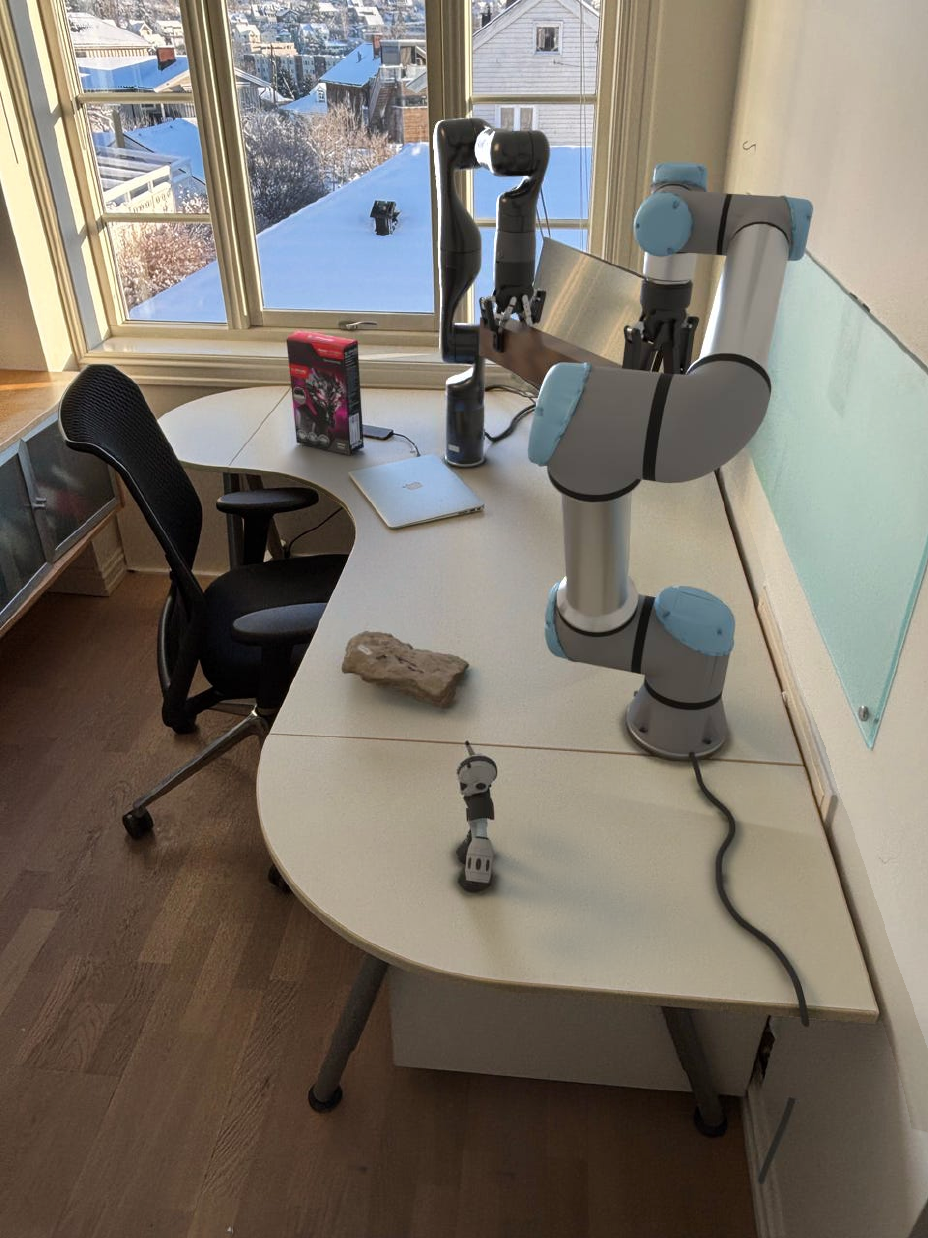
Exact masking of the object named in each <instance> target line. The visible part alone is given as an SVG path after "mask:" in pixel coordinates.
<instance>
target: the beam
mask: <svg viewBox="0 0 928 1238" xmlns="http://www.w3.org/2000/svg"><path fill="white" fill-rule="evenodd" d="M501 314H502V315H503V314H504V313H501ZM479 324H480V343H479V355H480V356H482V357H484V358H486V360H488V361H490V362H492V363H494V364H496V365H498V366H500V367H502V368H503V369H506V370H508V371H510V372H512V373H514V374H515V375H518V376H520V377H522V378H524V379H526V380H528V381H530V382H532V383H534V384H536V385H537V386H540V387H542V384H543V381H544V379H545V377H546V375H547V373H548V371H549V370H550V369H551V368H552V367H553V366H554V365H556V364H558V363H563V362H565V363H582V364H584V363H585V362H589V363H591V366H601V367H610V368H620V369H622V364H620V363H618V362H616V361H613V360H611V359H608V358H606V357H604V356H601V355H599V354H598V353H597V354H596V353H594V352H592V351H590V350H588V349H585V348H583V347H580V346H578V345H575V344H573V343H572V342H569V341H567V340H565V339H561V338H560V337H557V336H555V335H553V334H549V333H548V332H545V331H543V330H541V329H539V328H536V327H534V326H533V325H532V326H529V325H527V324H525V323H522V322H520V321H519V319H515V318H513V317H511V316H510V319H509V321H508V322H507V323H506V325H505V328H504V331H503V333H504V352H503V353H498V352H496V351H495V350H494V349H493V346H492V345H493V332H492V331H490V330H488V329H485V328H484V327H483V321H482V316H480V317H479Z"/></svg>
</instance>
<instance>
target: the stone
mask: <svg viewBox="0 0 928 1238" xmlns="http://www.w3.org/2000/svg"><path fill="white" fill-rule="evenodd" d="M342 661H343V662H342V663H341V672H342V674H344V675H346V674H353V675H357V676H359V677H360V678H361V680H362V681H363V682H365V683H369V684H375V685H376V687H381V688H386V689H390V690H392V691H395V692H396V693H400V694H401V695H402V694H403V695H405V696H408V697H410V698H411V699H414V700H416V701H419V702H420V701H421V702H428V703H431V704H433V706H435V707H437V708H440V709H446V708H448V707H450V705H451V704H452V702H453V700H454V699H455V696H456V693H457V692H456V691H457V687H459V684H460V682H461V681H462V679H463V677H464V675H465V674H466V671H467V669H468V668H470V663H469V662H468V661H466V660H464V659H463V658H461V657H460V656H458V655H454V654H450V653H442V652H437V651H436V652H435V651H431V650H429V649H420V648H414V647H413V646H412V645H411V644H410V643H405V642H402V641H401V640H400V639H399V638H397V637H394V636H393V634H392V633H387V632H382V631H368V630H365V631H362V632H359V633H357V634H356V635H354V636H352V637H351V638H350V639H349V640H348V641H347V644H346V646H345V655H344V657H343V660H342Z"/></svg>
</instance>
